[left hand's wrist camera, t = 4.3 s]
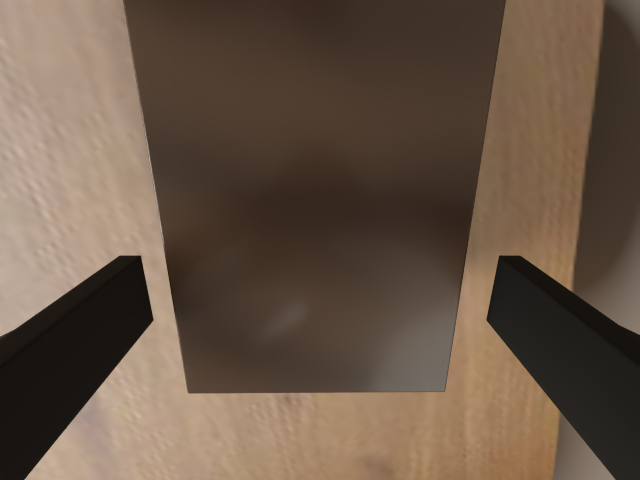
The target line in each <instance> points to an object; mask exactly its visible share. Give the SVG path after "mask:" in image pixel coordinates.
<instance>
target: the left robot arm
mask: <svg viewBox="0 0 640 480" xmlns="http://www.w3.org/2000/svg"><path fill="white" fill-rule="evenodd" d="M152 321H153V315H152V310H151V305H150V300H149V295H148V290H147V285H146V280H145V275H144V270H143V264H142V259H141V256H119V257H117V258H116V259H114V260H113V261H112V262H110V263H109V264H107V265H106V266H104V267H103V268H102V269H100V270H99V271H97V272H96V273H95V274H93V275H92V276H90V277H89V278H87V279H86V280H85V281H83V282H82V283H80V284H79V285H77V286H76V287H75V288H73V289H72V290H70V291H69V292H68V293H66V294H65V295H63V296H62V297H60V298H59V299H58V300H56V301H55V302H53V303H52V304H50V305H49V306H48V307H46V308H45V309H43V310H42V311H41V312H39V313H38V314H36V315H35V316H33V317H32V318H31V319H29V320H28V321H26V322H25V323H23V324H22V325H21V326H19V327H18V328H16V329H15V330H13V331H11V332H9V333H7V334H5V335H3V336H1V337H0V480H24V479H25V478H26V477H27V476H28V474H29V473H30V472H31V471H32V470H33V468H34V467H35V466H36V465H37V463H38V462H39V461H40V460H41V458H42V457H43V456H44V455H45V453H46V452H47V451H48V450H49V449H50V447H51V446H52V445H53V444H54V442H55V441H56V440H57V439H58V437H59V436H60V435H61V434H62V433H63V431H64V430H65V429H66V428H67V426H68V425H69V424H70V423H71V421H72V420H73V419H74V418H75V416H76V415H77V414H78V413H79V412H80V410H81V409H82V408H83V407H84V405H85V404H86V403H87V402H88V400H89V399H90V398H91V397H92V395H93V394H94V393H95V392H96V391H97V389H98V388H99V387H100V386H101V384H102V383H103V382H104V381H105V379H106V378H107V377H108V376H109V375H110V373H111V372H112V371H113V370H114V368H115V367H116V366H117V365H118V363H119V362H120V361H121V360H122V358H123V357H124V356H125V355H126V354H127V352H128V351H129V350H130V349H131V347H132V346H133V345H134V344H135V342H136V341H137V340H138V339H139V337H140V336H141V335H142V334H143V333H144V331H145V330H146V329H147V328H148V326H149V325H150V324H151V323H152ZM487 321H488V323H489V324H490V325H491V326H492V328H493V329H494V330H495V331H496V333H497V334H498V335H499V336H500V337H501V339H502V340H503V341H504V342H505V344H506V345H507V346H508V347H509V349H510V350H511V351H512V352H513V354H514V355H515V356H516V357H517V358H518V360H519V361H520V362H521V363H522V365H523V366H524V367H525V368H526V370H527V371H528V372H529V373H530V375H531V376H532V377H533V378H534V379H535V381H536V382H537V383H538V384H539V386H540V387H541V388H542V389H543V391H544V392H545V393H546V394H547V395H548V397H549V398H550V399H551V400H552V402H553V403H554V404H555V405H556V407H557V408H558V409H559V410H560V412H561V413H562V414H563V415H564V416H565V418H566V419H567V420H568V421H569V423H570V424H571V425H572V426H573V428H574V429H575V430H576V431H577V433H578V434H579V435H580V436H581V437H582V439H583V440H584V441H585V442H586V444H587V445H588V446H589V447H590V448H591V450H592V451H593V452H594V453H595V455H596V456H597V457H598V458H599V460H600V461H601V462H602V463H603V465H604V466H605V467H606V468H607V469H608V471H609V472H610V473H611V474H612V476H613V477H614V478H615V479H616V480H640V335H639V334H636V333H634V332H632V331H630V330H628V329H626V328H624V327H622V326H619V325H618V324H617V323H615V322H614V321H612V320H611V319H609V318H608V317H607V316H605V315H604V314H602V313H601V312H599V311H598V310H597V309H595V308H594V307H592V306H591V305H590V304H588V303H587V302H585V301H584V300H582V299H581V298H580V297H578V296H577V295H575V294H574V293H572V292H571V291H570V290H568V289H567V288H565V287H564V286H563V285H561V284H560V283H558V282H557V281H555V280H554V279H553V278H551V277H550V276H548V275H547V274H545V273H544V272H543V271H541V270H540V269H538V268H537V267H536V266H534V265H533V264H531V263H530V262H528V261H527V260H526V259H524V258H523V257H521V256H499V259H498V264H497V270H496V275H495V280H494V285H493V290H492V295H491V300H490V305H489V310H488V315H487Z"/></svg>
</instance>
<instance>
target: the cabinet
mask: <svg viewBox="0 0 640 480" xmlns="http://www.w3.org/2000/svg"><path fill="white" fill-rule="evenodd" d="M505 2H506V0H123V3H124V9H125V15H126V21H127V27H128V33H129V39H130V45H131V51H132V57H133V64H134V70H135V76H136V82H137V88H138V94H139V100H140V106H141V112H142V118H143V124H144V130H145V136H146V142H147V148H148V154H149V161H150V167H151V173H152V179H153V185H154V191H155V197H156V203H157V209H158V215H159V221H160V227H161V233H162V239H163V245H164V252H165V258H166V264H167V270H168V276H169V282H170V288H171V294H172V300H173V306H174V312H175V318H176V324H177V330H178V336H179V343H180V349H181V355H182V361H183V367H184V373H185V379H186V385H187V391H188V393H334V392H444V391H445V388H446V382H447V375H448V369H449V362H450V356H451V349H452V343H453V337H454V330H455V324H456V317H457V311H458V304H459V298H460V292H461V285H462V279H463V272H464V266H465V259H466V253H467V246H468V240H469V234H470V227H471V221H472V214H473V208H474V201H475V195H476V189H477V182H478V176H479V169H480V163H481V156H482V150H483V144H484V137H485V131H486V124H487V118H488V111H489V105H490V99H491V92H492V86H493V79H494V73H495V66H496V60H497V54H498V47H499V41H500V34H501V28H502V21H503V15H504V8H505Z"/></svg>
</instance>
